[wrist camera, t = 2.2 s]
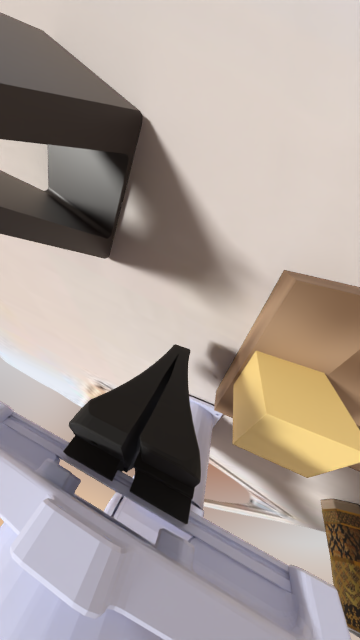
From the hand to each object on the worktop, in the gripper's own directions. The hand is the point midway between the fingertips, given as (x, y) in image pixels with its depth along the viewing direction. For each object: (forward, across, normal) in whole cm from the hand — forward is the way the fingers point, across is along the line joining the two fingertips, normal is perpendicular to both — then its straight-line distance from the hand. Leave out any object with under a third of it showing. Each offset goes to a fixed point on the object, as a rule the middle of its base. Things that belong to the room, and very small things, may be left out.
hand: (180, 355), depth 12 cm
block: (+1, -8, 0) cm, 8 cm away
